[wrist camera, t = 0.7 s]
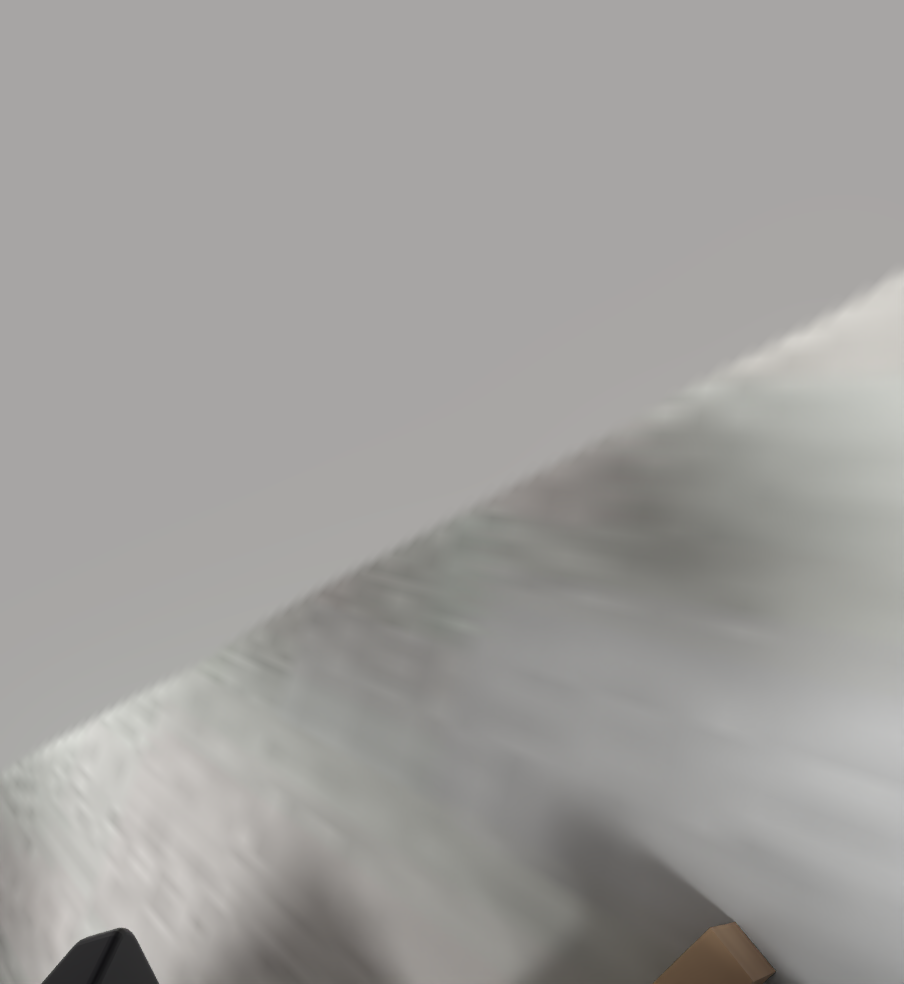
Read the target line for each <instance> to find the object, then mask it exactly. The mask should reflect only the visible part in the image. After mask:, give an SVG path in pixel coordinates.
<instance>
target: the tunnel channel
mask: <svg viewBox="0 0 904 984" xmlns="http://www.w3.org/2000/svg"><path fill="white" fill-rule="evenodd" d="M774 972H776V971H775V970H774V968H773V967H772V966H771V965H770V964H769V962H768V961H767V960H766V959H765V958H764V956H763V955H762V954H761V953H760V951H759V950H758V949H757V948H756V947H755V945H754V944H753V943H752V942H751V941H750V939H749V938H748V937H747V936H746V935H745V933H744V932H743V931H742V930H741V928H740V927H739V926H738V925H737V924H736V922H733V923H728V924H724V925H719V926H714V927H710V928H709V929H708V930H707V931H706V932H705V933H704V934H703V935H702V936H701V937H700V938H699V939H698V940H697V941H696V942H695V943H694V944H693V945H692V946H691V947H689V948H688V949H687V950H686V951H685V952H684V953H683V954H682V955H681V956H680V957H679V958H678V959H677V960H676V961H675V962H674V963H673V964H672V965H671V966H670V967H669V968H668V969H667V970H666V971H665V972H664V973H663V974H662V975H661V976H660V977H659V978H658V979H657V980H656V981H655V982H654V983H652V984H763V983H764V982H765V981H766V980H767V979H768V978H769V977H770V976H771V975H772V974H773V973H774Z"/></svg>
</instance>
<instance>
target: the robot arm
mask: <svg viewBox="0 0 904 984" xmlns="http://www.w3.org/2000/svg"><path fill="white" fill-rule="evenodd" d="M42 984H159V983H158V981H157V979H156V977H155V975H154V973H153V971H152V969H151V967H150V965H149V963H148V961H147V959H146V957H145V955H144V953H143V951H142V949H141V947H140V945H139V943H138V941H137V939H136V938H135V936H134V935H133V933H132V932H131V931H129V930H128V929H126V928H117V929H113V930H110V931H106V932H103V933H99V934H96V935H93V936H89V937H86V938H84V939H82V940H80V941H79V942H78V943H77V944H76V945H75V946H74V947H73V948H72V949H71V950H70V951H69V952H68V953H67V954H66V956H65V957H64V958H63V959H62V960H61V961H60V963H59V964H58V965H57V966H56V967H55V968H54V970H53V971H52V972H51V973H50V974H49V975H48V977H47V978H46V979H45V980H44V981H43V982H42Z"/></svg>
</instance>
